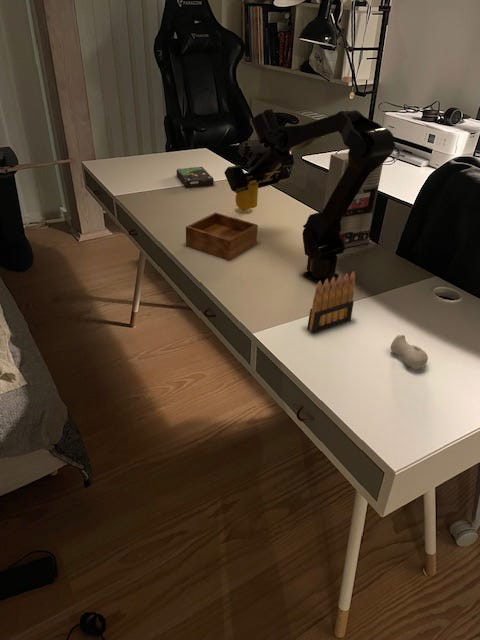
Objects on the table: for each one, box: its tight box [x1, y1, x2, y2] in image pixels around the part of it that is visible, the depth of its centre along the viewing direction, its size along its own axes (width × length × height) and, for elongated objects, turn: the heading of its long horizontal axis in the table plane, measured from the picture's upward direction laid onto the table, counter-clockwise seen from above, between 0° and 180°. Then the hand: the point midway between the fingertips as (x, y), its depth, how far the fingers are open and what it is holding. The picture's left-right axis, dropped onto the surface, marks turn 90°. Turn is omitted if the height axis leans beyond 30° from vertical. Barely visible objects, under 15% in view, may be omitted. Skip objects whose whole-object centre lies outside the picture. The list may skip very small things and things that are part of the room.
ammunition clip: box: [306, 270, 356, 334], centre depth 105 cm, size 11×2×12 cm, turn 121°
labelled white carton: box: [323, 152, 384, 249], centre depth 137 cm, size 14×6×25 cm, turn 117°
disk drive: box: [175, 166, 215, 188], centre depth 185 cm, size 10×3×15 cm
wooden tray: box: [185, 212, 259, 261], centre depth 139 cm, size 15×14×6 cm
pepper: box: [235, 181, 259, 210], centre depth 141 cm, size 6×6×9 cm
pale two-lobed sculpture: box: [390, 334, 429, 370], centre depth 98 cm, size 4×8×5 cm
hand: (244, 189), depth 142 cm, fingers closed on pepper, 6 cm apart
